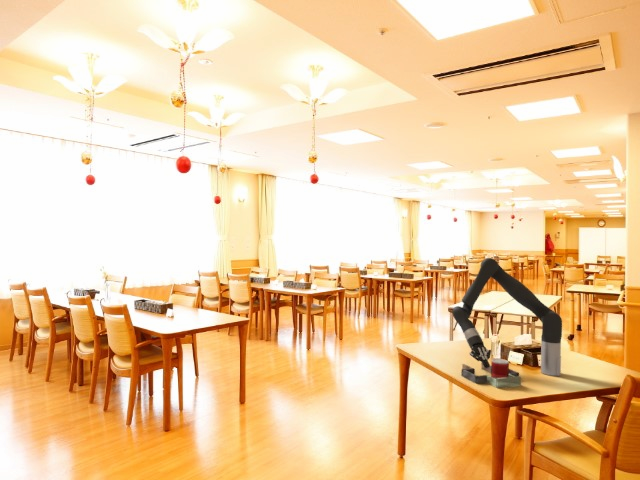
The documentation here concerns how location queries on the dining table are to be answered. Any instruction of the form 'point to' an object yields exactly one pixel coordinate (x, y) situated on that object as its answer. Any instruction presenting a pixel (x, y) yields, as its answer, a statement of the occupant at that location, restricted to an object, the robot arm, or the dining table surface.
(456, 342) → the dining table surface
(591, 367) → the dining table surface
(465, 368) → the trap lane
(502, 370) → the canned food
